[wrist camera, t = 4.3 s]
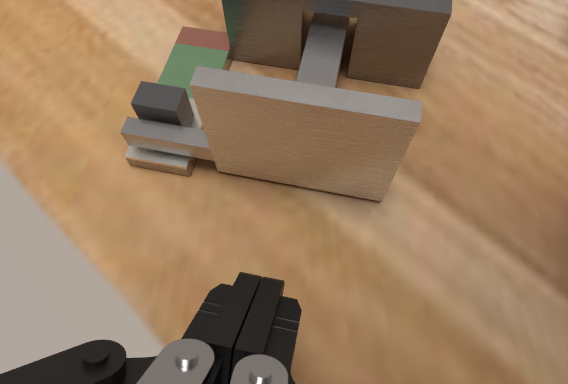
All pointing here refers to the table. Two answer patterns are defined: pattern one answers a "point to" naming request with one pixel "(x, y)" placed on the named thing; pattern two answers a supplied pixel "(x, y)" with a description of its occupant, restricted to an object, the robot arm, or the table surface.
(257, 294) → the robot arm
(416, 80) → the gauge base
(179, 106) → the block
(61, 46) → the table surface
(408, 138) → the push plate
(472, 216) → the table surface
